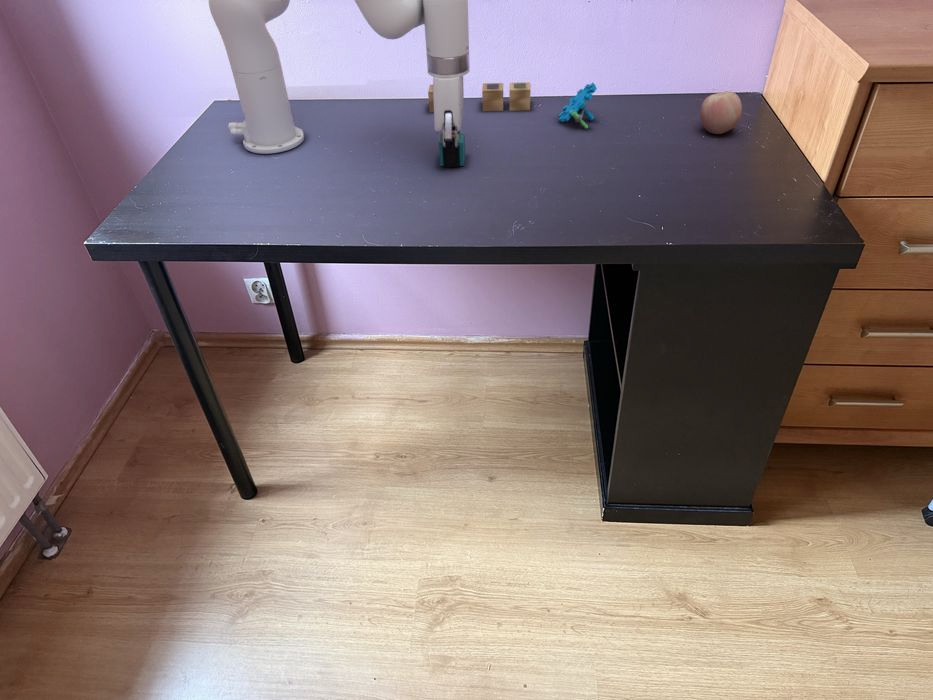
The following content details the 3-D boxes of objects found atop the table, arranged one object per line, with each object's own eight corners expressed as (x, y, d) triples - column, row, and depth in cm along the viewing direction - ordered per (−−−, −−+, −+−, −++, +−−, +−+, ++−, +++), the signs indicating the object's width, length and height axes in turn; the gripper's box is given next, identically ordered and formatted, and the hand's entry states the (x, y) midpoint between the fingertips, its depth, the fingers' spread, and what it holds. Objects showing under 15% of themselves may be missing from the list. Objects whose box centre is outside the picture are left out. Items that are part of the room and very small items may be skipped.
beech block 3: (509, 110, 147) (509, 89, 144) (509, 103, 151) (509, 82, 148) (530, 110, 147) (530, 89, 144) (529, 102, 151) (530, 81, 148)
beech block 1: (429, 112, 149) (427, 91, 146) (431, 104, 152) (429, 84, 149) (449, 112, 148) (448, 90, 145) (451, 104, 152) (450, 83, 149)
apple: (724, 122, 138) (732, 83, 133) (744, 136, 132) (754, 96, 127) (689, 127, 137) (697, 88, 131) (709, 142, 131) (717, 102, 126)
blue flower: (561, 101, 146) (595, 72, 139) (579, 120, 148) (613, 92, 141) (551, 128, 139) (587, 98, 132) (570, 147, 141) (606, 119, 134)
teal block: (440, 165, 127) (438, 142, 124) (442, 155, 131) (440, 132, 127) (463, 165, 127) (463, 142, 124) (465, 155, 130) (464, 132, 127)
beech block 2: (482, 111, 148) (482, 90, 145) (483, 103, 151) (482, 82, 148) (503, 110, 148) (503, 89, 144) (503, 103, 151) (503, 82, 148)
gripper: (431, 48, 123) (437, 141, 135) (422, 79, 110) (429, 179, 122) (471, 47, 123) (473, 141, 135) (467, 79, 110) (469, 179, 122)
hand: (452, 158), depth 128 cm, fingers closed on teal block, 4 cm apart
